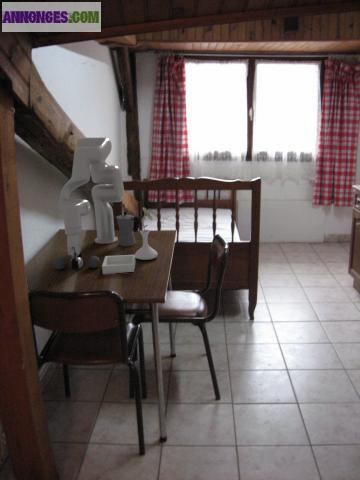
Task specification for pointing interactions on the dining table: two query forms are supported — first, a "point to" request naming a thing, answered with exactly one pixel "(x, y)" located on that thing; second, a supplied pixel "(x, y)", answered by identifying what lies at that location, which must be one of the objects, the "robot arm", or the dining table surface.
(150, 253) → the flower in vase
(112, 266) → the tray
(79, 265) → the steel ball
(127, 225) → the coffeepot
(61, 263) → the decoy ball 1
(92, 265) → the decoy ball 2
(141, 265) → the dining table surface
